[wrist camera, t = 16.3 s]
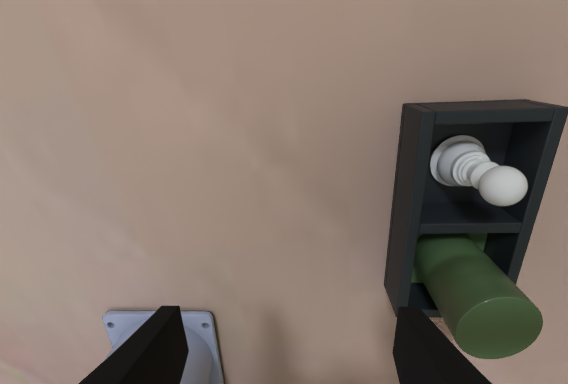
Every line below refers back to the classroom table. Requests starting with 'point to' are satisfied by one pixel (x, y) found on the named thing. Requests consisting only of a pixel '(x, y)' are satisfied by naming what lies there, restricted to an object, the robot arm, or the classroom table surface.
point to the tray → (466, 199)
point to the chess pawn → (477, 171)
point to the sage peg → (476, 297)
